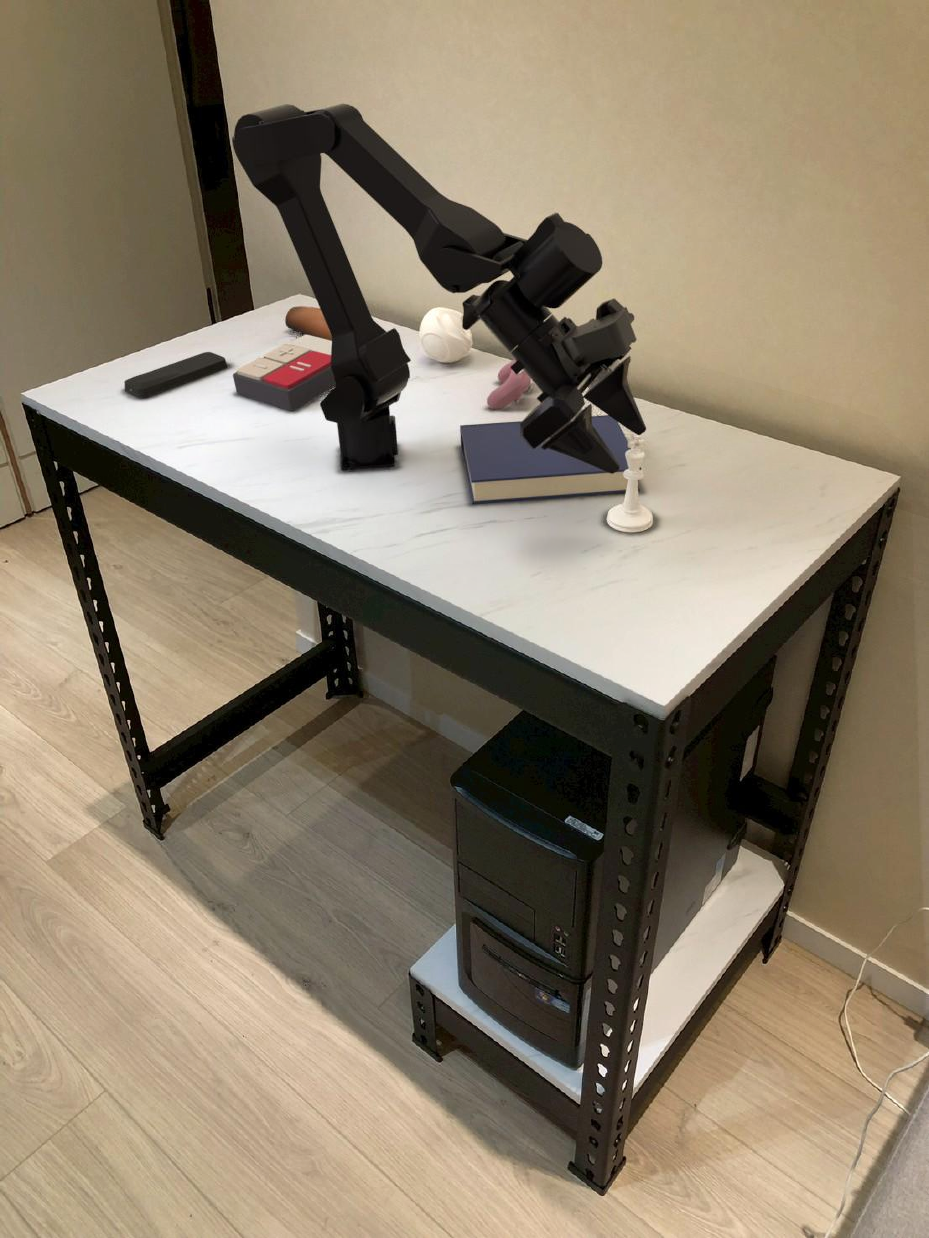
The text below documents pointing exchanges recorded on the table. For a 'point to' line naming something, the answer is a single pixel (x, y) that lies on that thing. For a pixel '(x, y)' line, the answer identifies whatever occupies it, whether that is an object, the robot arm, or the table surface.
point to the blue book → (536, 465)
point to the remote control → (174, 374)
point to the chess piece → (631, 495)
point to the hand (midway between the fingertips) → (630, 451)
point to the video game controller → (509, 387)
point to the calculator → (288, 374)
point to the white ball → (444, 335)
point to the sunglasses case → (308, 322)
